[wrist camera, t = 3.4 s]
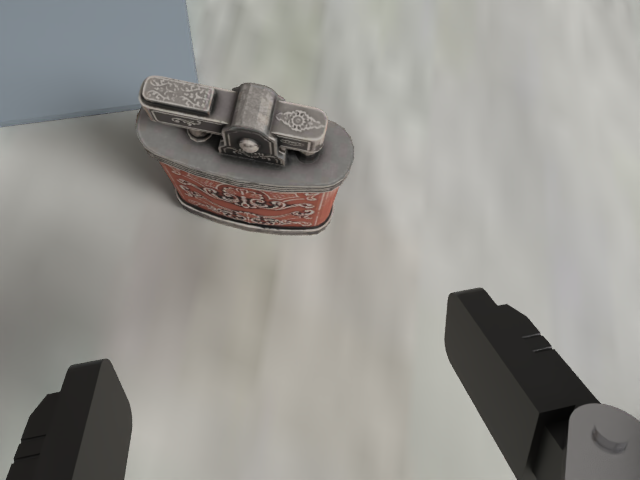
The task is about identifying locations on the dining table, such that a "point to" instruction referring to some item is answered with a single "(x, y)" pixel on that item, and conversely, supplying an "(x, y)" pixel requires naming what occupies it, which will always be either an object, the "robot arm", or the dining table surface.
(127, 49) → the pad
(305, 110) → the lighter
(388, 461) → the dining table surface
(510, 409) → the robot arm
